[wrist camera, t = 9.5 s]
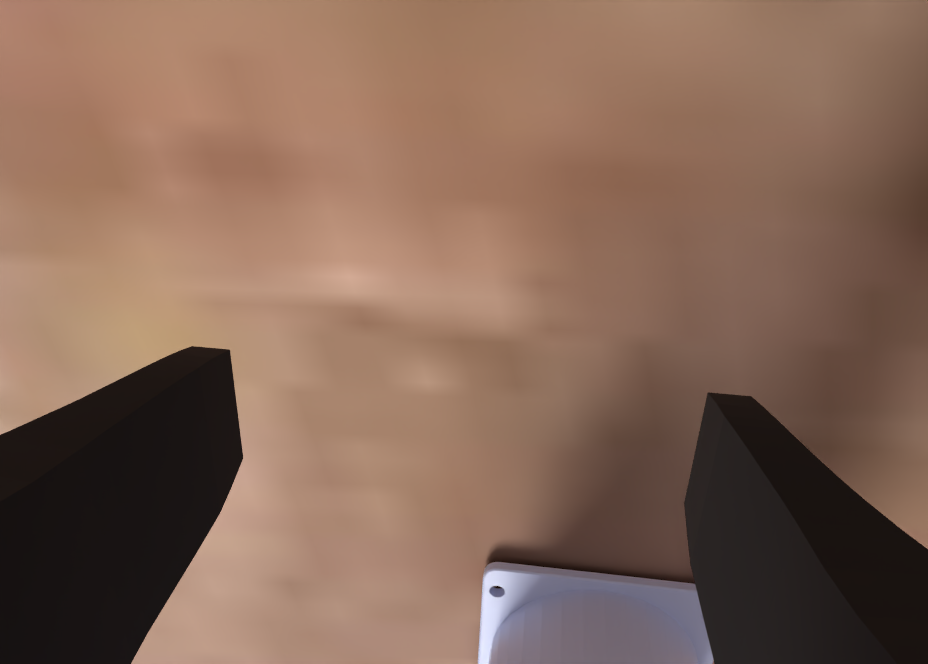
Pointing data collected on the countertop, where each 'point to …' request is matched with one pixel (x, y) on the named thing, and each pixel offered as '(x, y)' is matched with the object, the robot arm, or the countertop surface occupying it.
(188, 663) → the countertop surface
